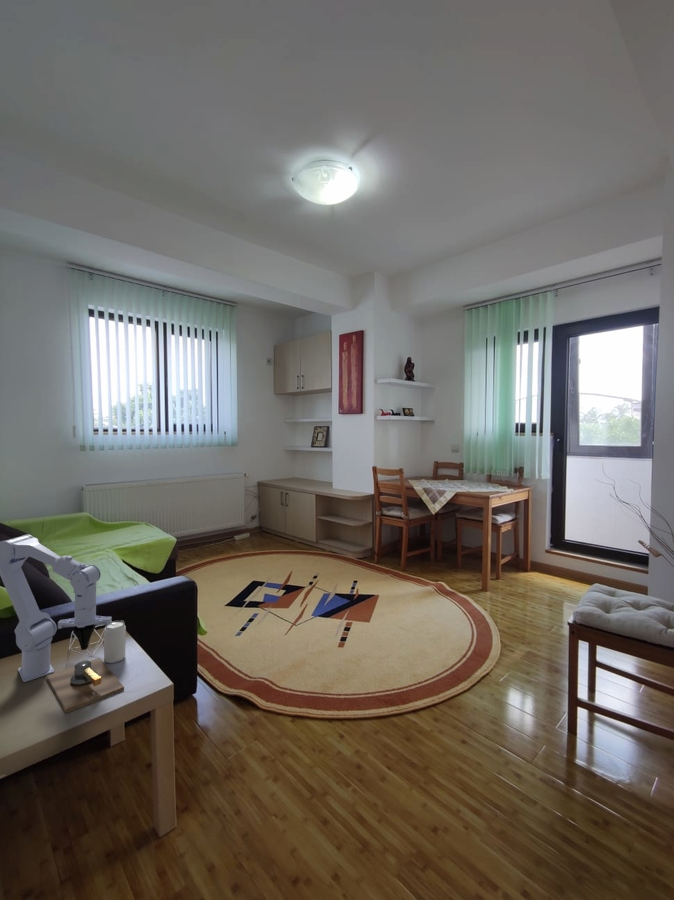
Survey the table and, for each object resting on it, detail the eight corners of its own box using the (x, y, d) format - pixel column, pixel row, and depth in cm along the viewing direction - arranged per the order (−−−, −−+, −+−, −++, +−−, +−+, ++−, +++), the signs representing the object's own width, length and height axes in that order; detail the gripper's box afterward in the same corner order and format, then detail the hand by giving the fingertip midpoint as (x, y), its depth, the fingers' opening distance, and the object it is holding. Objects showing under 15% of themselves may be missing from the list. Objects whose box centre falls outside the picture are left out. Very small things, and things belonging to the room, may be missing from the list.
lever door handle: (66, 679, 126) (66, 666, 126) (91, 669, 131) (91, 657, 131) (84, 697, 118) (85, 683, 118) (110, 685, 123) (110, 672, 123)
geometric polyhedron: (92, 638, 154) (92, 614, 153) (114, 643, 150) (114, 619, 150) (60, 654, 142) (60, 628, 141) (83, 661, 138) (83, 635, 138)
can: (120, 651, 145) (121, 618, 144) (128, 658, 141) (129, 624, 140) (100, 658, 140) (101, 624, 139) (108, 666, 136) (109, 630, 135)
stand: (46, 678, 128) (46, 674, 128) (99, 660, 139) (99, 657, 139) (66, 713, 113) (66, 709, 113) (123, 689, 124) (124, 686, 124)
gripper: (53, 612, 123) (53, 657, 123) (107, 609, 126) (106, 652, 127) (63, 603, 130) (62, 645, 130) (113, 600, 133) (113, 641, 134)
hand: (84, 648), depth 129 cm, fingers closed
